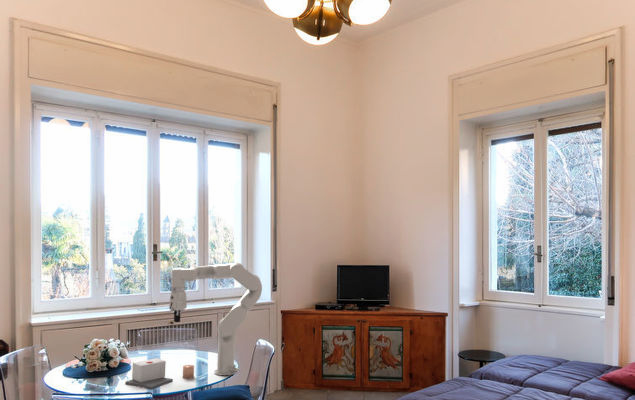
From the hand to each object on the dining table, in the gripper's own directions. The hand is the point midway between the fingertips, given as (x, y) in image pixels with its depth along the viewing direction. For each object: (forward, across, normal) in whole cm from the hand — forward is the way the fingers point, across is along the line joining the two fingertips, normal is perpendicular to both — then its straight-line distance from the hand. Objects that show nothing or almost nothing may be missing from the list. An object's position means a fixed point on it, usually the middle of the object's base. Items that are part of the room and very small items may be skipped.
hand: (177, 321), depth 299 cm
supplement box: (+23, -10, +1) cm, 26 cm away
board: (+29, -20, 0) cm, 36 cm away
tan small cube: (+29, -2, -11) cm, 31 cm away
